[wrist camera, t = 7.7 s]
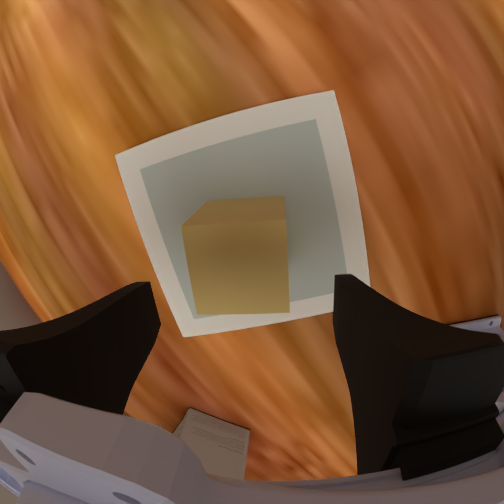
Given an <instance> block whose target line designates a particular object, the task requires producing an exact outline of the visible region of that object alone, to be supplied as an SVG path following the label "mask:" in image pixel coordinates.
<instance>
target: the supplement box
mask: <svg viewBox="0 0 504 504" xmlns="http://www.w3.org/2000/svg"><path fill="white" fill-rule="evenodd" d="M173 434H174V435H175V436H177V437H179V438H181V439H182V440H183V441H184V442H185V443H186V444H187V445H188V446H189V447H190V449H191V450H192V451H193V452H194V453H195V454H196V455H197V456H198V457H199V459H200V461H201V463H202V465H203V467H204V469H205V471H206V473H209V474H213V475H218V476H222V477H227V478H232V479H237V480H244V474H245V466H246V459H247V451H248V444H249V435H250V430H247V429H245V428H242V427H239V426H236V425H233V424H231V423H228V422H225V421H223V420H220V419H218V418H215V417H212V416H210V415H207V414H205V413H202V412H200V411H197V410H195V409H192V408H189V409H188V411H187V413H186V415H185V416H184V418H183V420H182V421H181V423H180V424H179V426H178V427H177V429H176V430H175V431H174V433H173Z"/></svg>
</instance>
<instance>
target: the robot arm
mask: <svg viewBox="0 0 504 504" xmlns="http://www.w3.org/2000/svg"><path fill="white" fill-rule="evenodd" d="M500 323H501V317H500V316H494V317H489V318H484V319H480V320H474V321H469V322H464V323H459V324H453V325H446V324H443V323H439V322H437V321H434V320H431V319H428V318H425V317H423V316H420V315H418V314H416V313H414V312H411V311H409V310H407V309H405V308H403V307H401V306H399V305H398V304H396V303H394V302H392V301H391V300H389V299H387V298H386V297H384V296H383V295H381V294H380V293H378V292H377V291H375V290H374V289H372V288H371V287H369V286H368V285H367V284H365V283H364V282H362V281H361V280H360V279H358V278H357V277H355V276H354V275H352V274H338V275H335V278H334V304H333V327H334V334H335V340H336V344H337V348H338V351H339V355H340V358H341V362H342V365H343V369H344V372H345V376H346V379H347V383H348V387H349V391H350V396H351V403H352V410H353V418H354V428H355V438H356V452H357V474H358V475H355V476H348V477H339V478H330V479H317V480H300V481H248V480H237V479H232V478H227V477H222V476H218V475H213V474H209V473H206V471H205V469H204V467H203V465H202V463H201V461H200V459H199V457H198V456H197V455H196V454H195V453H194V452H193V451H192V450H191V449H190V447H189V446H188V445H187V444H186V443H185V442H184V441H183V440H182V439H181V438H179V437H177V436H175V435H174V434H172V433H170V432H168V431H167V430H165V429H163V428H161V427H160V426H158V425H155V424H152V423H149V422H146V421H142V420H139V419H136V418H133V417H130V416H125V415H123V412H124V409H125V406H126V403H127V400H128V397H129V394H130V391H131V389H132V387H133V385H134V382H135V380H136V379H137V377H138V375H139V373H140V371H141V369H142V367H143V365H144V363H145V361H146V359H147V357H148V355H149V353H150V351H151V350H152V348H153V346H154V343H155V341H156V338H157V335H158V332H159V329H160V326H161V322H160V319H159V315H158V311H157V308H156V304H155V300H154V296H153V292H152V288H151V284H150V282H135V283H132V284H129V285H127V286H125V287H123V288H121V289H119V290H117V291H115V292H113V293H111V294H109V295H107V296H105V297H103V298H101V299H99V300H97V301H95V302H93V303H91V304H89V305H87V306H85V307H83V308H81V309H79V310H77V311H74V312H72V313H70V314H67V315H64V316H62V317H59V318H56V319H53V320H50V321H47V322H43V323H40V324H37V325H33V326H29V327H24V328H19V329H12V330H6V331H5V330H4V331H0V484H2V485H3V486H4V487H6V488H7V489H8V490H10V491H11V492H12V493H14V494H15V495H17V496H18V499H17V500H16V503H15V504H504V331H503V330H502V328H501V327H500Z"/></svg>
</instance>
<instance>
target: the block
mask: <svg viewBox="0 0 504 504" xmlns="http://www.w3.org/2000/svg"><path fill="white" fill-rule="evenodd" d="M181 230H182V236H183V242H184V248H185V254H186V260H187V265H188V271H189V276H190V282H191V287H192V292H193V297H194V303H195V308H196V312H197V315H229V314H270V313H290V300H289V273H288V250H287V230H286V214H285V202H284V196H273V197H257V198H242V199H229V200H216V201H207V202H206V203H205V204H203V205H202V206H201V207H200V208H199V209H198V210H197V211H196V212H195V213H194V214H193V215H192V216H191V217H190V218H189V219H188V220H187V221H186V222H185V223H184V224H183V225H182V226H181Z"/></svg>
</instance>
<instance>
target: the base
mask: <svg viewBox="0 0 504 504" xmlns="http://www.w3.org/2000/svg"><path fill="white" fill-rule="evenodd" d="M115 158H116V161H117V164H118V168H119V171H120V174H121V178H122V181H123V184H124V187H125V190H126V193H127V196H128V199H129V202H130V205H131V208H132V211H133V214H134V217H135V220H136V223H137V225H138V228H139V231H140V234H141V236H142V239H143V242H144V244H145V247H146V250H147V252H148V255H149V258H150V260H151V263H152V265H153V268H154V270H155V273H156V275H157V278H158V280H159V283H160V285H161V288H162V290H163V292H164V295H165V297H166V299H167V302H168V304H169V306H170V309H171V311H172V313H173V315H174V318H175V320H176V322H177V324H178V327H179V329H180V331H181V333H182V335H183V337H190V336H197V335H205V334H212V333H219V332H225V331H232V330H238V329H244V328H250V327H256V326H262V325H268V324H273V323H279V322H284V321H290V320H295V319H300V318H305V317H310V316H315V315H319V314H324V313H329V312H333V304H334V278H335V275H338V274H352V275H354V276H355V277H357V278H358V279H360V280H361V281H362V282H364V283H365V284H367V285H368V286H369V287H370V278H369V268H368V260H367V251H366V244H365V236H364V229H363V223H362V216H361V210H360V204H359V198H358V193H357V187H356V182H355V177H354V172H353V167H352V162H351V157H350V153H349V148H348V144H347V139H346V135H345V131H344V127H343V123H342V119H341V115H340V111H339V107H338V103H337V100H336V96H335V93H334V90H332V91H326V92H321V93H315V94H310V95H305V96H300V97H295V98H290V99H286V100H281V101H277V102H273V103H269V104H265V105H261V106H257V107H253V108H249V109H245V110H242V111H238V112H234V113H231V114H227V115H224V116H221V117H217V118H214V119H211V120H208V121H204V122H201V123H198V124H195V125H192V126H189V127H186V128H183V129H181V130H178V131H175V132H172V133H169V134H167V135H164V136H161V137H159V138H156V139H153V140H151V141H148V142H146V143H143V144H141V145H138V146H136V147H133V148H131V149H128V150H126V151H124V152H121V153H119V154H117V155H115ZM273 196H284V202H285V214H286V230H287V250H288V273H289V300H290V313H270V314H229V315H197V312H196V308H195V303H194V297H193V292H192V287H191V282H190V276H189V271H188V265H187V260H186V254H185V248H184V242H183V236H182V230H181V226H182V225H183V224H184V223H185V222H186V221H187V220H188V219H189V218H190V217H191V216H192V215H193V214H194V213H195V212H196V211H197V210H198V209H199V208H200V207H201V206H202V205H203V204H205V203H206V202H207V201H216V200H229V199H242V198H257V197H273Z"/></svg>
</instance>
